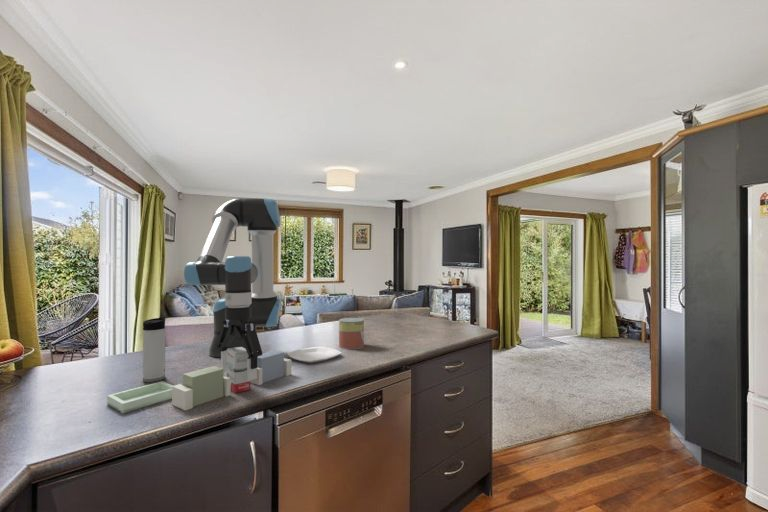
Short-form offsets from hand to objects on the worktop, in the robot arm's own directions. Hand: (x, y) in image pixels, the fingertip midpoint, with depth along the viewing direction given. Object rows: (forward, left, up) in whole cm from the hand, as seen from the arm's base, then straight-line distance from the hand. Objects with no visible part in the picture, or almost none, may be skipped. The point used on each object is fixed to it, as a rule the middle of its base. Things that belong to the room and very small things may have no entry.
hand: (238, 375), depth 112 cm
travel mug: (-30, -11, -4) cm, 32 cm away
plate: (-6, +38, -5) cm, 39 cm away
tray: (-13, -21, -4) cm, 25 cm away
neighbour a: (0, -11, -4) cm, 12 cm away
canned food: (-5, +60, -4) cm, 60 cm away
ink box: (0, 0, -4) cm, 4 cm away
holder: (0, 0, -4) cm, 4 cm away
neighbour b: (0, +11, -4) cm, 12 cm away
